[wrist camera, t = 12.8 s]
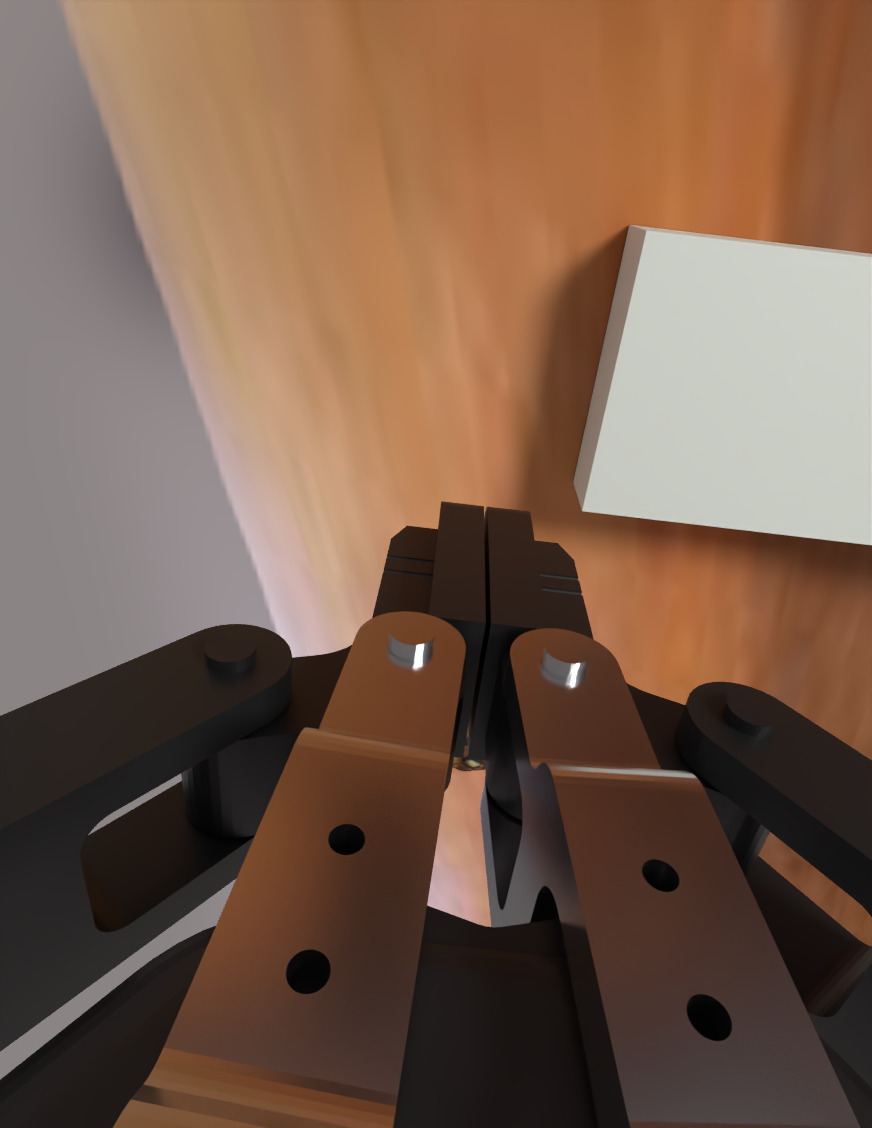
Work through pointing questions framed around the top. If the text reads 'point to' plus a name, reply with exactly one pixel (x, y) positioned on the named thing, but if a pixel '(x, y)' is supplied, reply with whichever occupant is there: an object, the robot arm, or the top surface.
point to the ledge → (734, 388)
